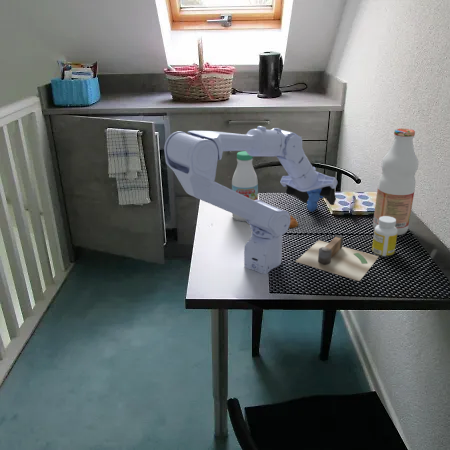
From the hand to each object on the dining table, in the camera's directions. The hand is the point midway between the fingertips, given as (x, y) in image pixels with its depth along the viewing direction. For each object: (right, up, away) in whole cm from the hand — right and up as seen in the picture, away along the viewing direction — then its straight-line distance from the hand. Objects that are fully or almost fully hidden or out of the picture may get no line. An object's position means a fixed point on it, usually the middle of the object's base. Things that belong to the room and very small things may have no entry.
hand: (319, 200), depth 114 cm
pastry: (-8, -6, +15) cm, 18 cm away
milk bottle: (-18, -4, +21) cm, 28 cm away
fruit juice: (+22, -8, +11) cm, 26 cm away
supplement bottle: (+15, -14, -2) cm, 21 cm away
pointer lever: (+2, -14, -5) cm, 14 cm away
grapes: (+3, -2, +23) cm, 23 cm away
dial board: (+3, -15, -5) cm, 17 cm away
